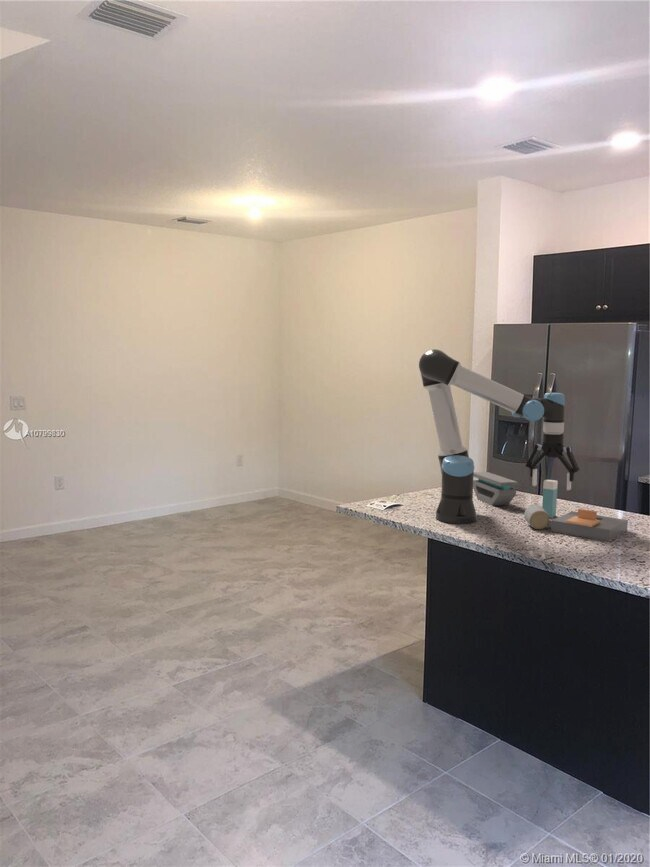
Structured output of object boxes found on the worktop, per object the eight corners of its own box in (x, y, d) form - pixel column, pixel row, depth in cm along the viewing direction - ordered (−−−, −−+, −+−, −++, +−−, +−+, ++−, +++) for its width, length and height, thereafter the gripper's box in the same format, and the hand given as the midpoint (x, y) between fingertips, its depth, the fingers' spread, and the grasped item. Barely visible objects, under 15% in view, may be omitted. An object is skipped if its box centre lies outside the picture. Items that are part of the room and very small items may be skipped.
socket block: (609, 541, 234) (609, 529, 234) (551, 531, 247) (551, 520, 247) (627, 530, 250) (627, 519, 249) (571, 521, 262) (572, 511, 262)
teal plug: (551, 517, 268) (553, 482, 267) (541, 516, 271) (543, 480, 269) (555, 516, 271) (557, 480, 270) (545, 514, 274) (547, 479, 272)
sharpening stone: (470, 496, 306) (471, 472, 305) (486, 496, 309) (487, 471, 307) (499, 509, 282) (500, 482, 281) (516, 508, 285) (517, 482, 283)
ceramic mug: (529, 530, 248) (530, 508, 248) (523, 524, 257) (524, 504, 256) (559, 531, 248) (560, 510, 247) (552, 525, 256) (553, 505, 255)
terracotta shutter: (592, 526, 236) (592, 515, 236) (565, 522, 242) (566, 511, 242) (600, 522, 243) (601, 511, 243) (575, 518, 249) (575, 507, 249)
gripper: (589, 434, 262) (587, 490, 265) (526, 430, 278) (524, 482, 280) (582, 436, 257) (580, 493, 259) (518, 431, 272) (516, 485, 275)
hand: (551, 487), depth 270 cm, fingers open, 13 cm apart
